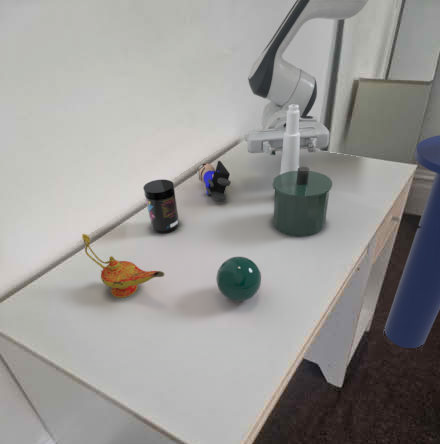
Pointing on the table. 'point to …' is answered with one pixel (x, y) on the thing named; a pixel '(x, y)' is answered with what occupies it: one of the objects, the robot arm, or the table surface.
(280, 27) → the robot arm
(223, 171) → the character figurine
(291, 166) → the cosmetic bottle
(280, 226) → the pot
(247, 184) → the table surface
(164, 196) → the supplement container
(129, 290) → the magic lamp
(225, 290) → the sphere
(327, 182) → the pot lid
